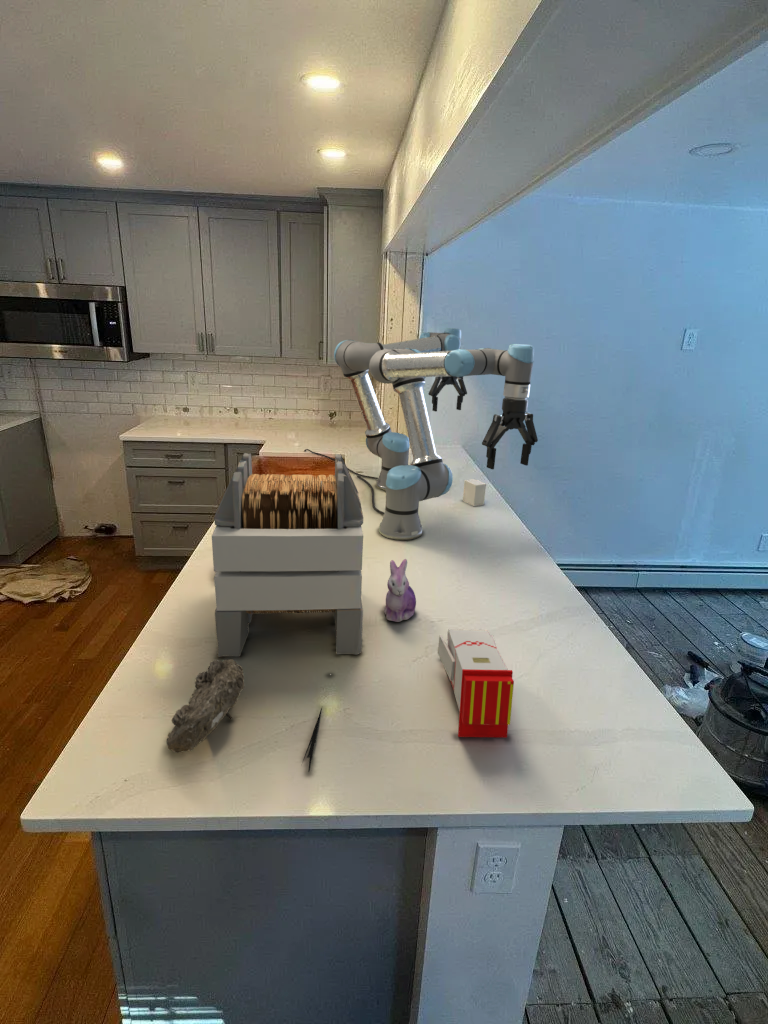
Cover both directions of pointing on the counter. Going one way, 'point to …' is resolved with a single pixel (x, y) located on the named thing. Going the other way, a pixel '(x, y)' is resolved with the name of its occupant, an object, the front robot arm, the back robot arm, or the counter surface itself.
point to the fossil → (206, 705)
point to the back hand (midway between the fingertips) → (446, 410)
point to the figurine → (399, 594)
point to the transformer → (288, 552)
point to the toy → (478, 682)
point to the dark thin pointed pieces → (313, 740)
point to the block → (474, 492)
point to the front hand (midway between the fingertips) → (507, 466)
